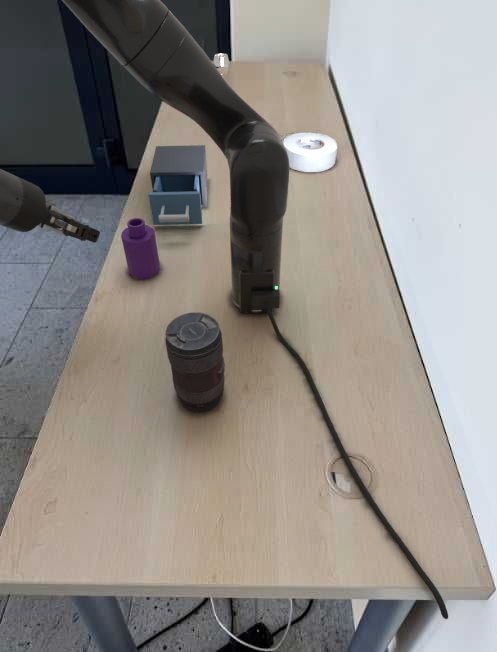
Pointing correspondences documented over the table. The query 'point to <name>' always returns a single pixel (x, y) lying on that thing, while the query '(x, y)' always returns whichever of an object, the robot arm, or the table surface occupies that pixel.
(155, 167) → the grey cabinet
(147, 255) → the bottle
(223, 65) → the wineglass
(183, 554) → the table surface
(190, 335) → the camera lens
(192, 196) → the drawer
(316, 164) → the tape roll
